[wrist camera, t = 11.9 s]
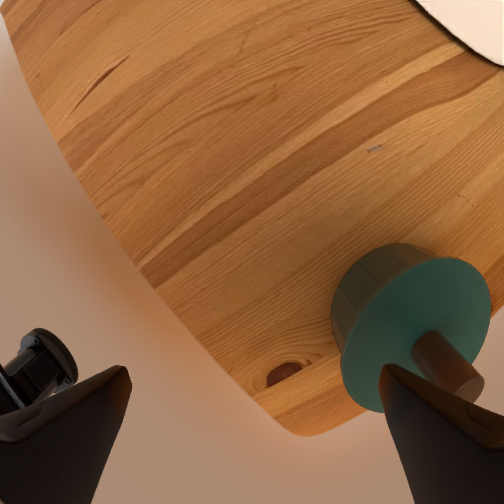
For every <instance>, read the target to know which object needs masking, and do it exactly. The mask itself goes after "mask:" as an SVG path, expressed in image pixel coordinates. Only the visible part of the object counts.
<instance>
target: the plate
mask: <svg viewBox="0 0 504 504" xmlns="http://www.w3.org/2000/svg"><path fill="white" fill-rule="evenodd" d="M415 1H416V2H417V3H418V4H419V5H420V6H421V7H422V8H423V9H424V10H425V11H426V12H427V13H428V14H429V15H430V16H431V17H433V18H434V19H435V20H436V21H437V22H439V23H440V24H441V25H442V26H443V27H444V28H445V29H447V30H448V31H449V32H450V33H451V34H452V35H453V36H455V37H456V38H458V39H459V40H460V41H462V42H463V43H464V44H466V45H467V46H468V47H469V48H471V49H472V50H473V51H474V52H476V53H478V54H480V55H481V56H483V57H485V58H486V59H488V60H490V61H491V62H493V63H495V64H498V65H501V66H504V0H415Z"/></svg>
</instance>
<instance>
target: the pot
mask: <svg viewBox="0 0 504 504" xmlns="http://www.w3.org/2000/svg"><path fill="white" fill-rule="evenodd" d="M436 256H437V255H435V254H433V253H431V252H429V251H427V250H425V249H422V248H419V247H416V246H414V245H410V244H406V243H405V244H404V243H403V244H402V243H397V244H389V245H385V246H382V247H379V248H377V249H375V250H373V251H371V252H369V253H367V254H366V255H365V256H363V257H362V258H360V259H359V260H358V261H357V262H356V263H355V264H354V265H353V266H352V267H351V268H350V269H349V270H348V272H347V273H346V274H345V276H344V277H343V279H342V280H341V282H340V284H339V286H338V288H337V290H336V293H335V295H334V299H333V303H332V309H331V322H332V328H333V335H334V337H335V340H336V342H337V345H338V347H339V350H340V352H341V353H342V348H343V344H344V341H345V338H346V335H347V332H348V330H349V328H350V326H351V323H352V321H353V320H354V318H355V316H356V315H357V313H358V311H359V310H360V309H361V307H362V306H363V304H364V303H365V302H366V300H367V299H368V298H369V297H370V296H371V295H372V294H373V292H374V291H375V290H376V289H377V288H378V287H379V286H380V285H382V284H383V283H384V282H385V281H386V280H387V279H388V278H390V277H391V276H392V275H394V274H395V273H396V272H398V271H400V270H401V269H403V268H405V267H406V266H408V265H410V264H412V263H415V262H417V261H419V260H423V259H426V258H429V257H436Z"/></svg>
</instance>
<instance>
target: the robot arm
mask: <svg viewBox="0 0 504 504" xmlns="http://www.w3.org/2000/svg"><path fill="white" fill-rule="evenodd" d="M71 384H72V380H71V378H70V377H69V376H68V375H67V374H66V372H65V371H64V370H63V369H62V367H61V366H60V365H59V364H58V362H57V361H56V360H55V358H54V357H53V356H52V354H51V353H50V352H49V350H48V349H47V348H46V346H45V345H44V343H43V342H42V341H41V339H40V338H39V337H38V336H37V335H35V336H34V337H32V338H31V339H30V340H29V341H28V342H27V343H26V344H25V345H24V346H23V347H22V348H21V349H20V350H19V351H18V355H17V356H16V357H15V358H14V359H13V360H12V361H10V362H9V363H8V364H7V365H5V366H4V367H2V366H1V364H0V504H91V502H92V499H93V497H94V494H95V491H96V488H97V486H98V482H99V480H100V477H101V475H102V472H103V469H104V467H105V464H106V462H107V459H108V457H109V454H110V452H111V449H112V446H113V444H114V441H115V439H116V437H117V434H118V432H119V429H120V427H121V424H122V422H123V418H124V415H125V411H126V408H127V404H128V401H129V398H130V394H131V390H132V383H131V380H130V377H129V374H128V370H127V369H126V367H124V366H119V365H115V366H113V367H111V368H109V369H107V370H105V371H103V372H101V373H99V374H97V375H95V376H93V377H90V378H89V379H87V380H84V381H82V382H80V383H78V384H76V385H74V386H72V387H70V388H68V389H65V390H63V391H61V392H59V393H57V394H55V395H53V396H51V395H52V394H53V393H55V392H57V391H59V390H61V389H64V388H66V387H68V386H70V385H71ZM378 389H379V393H380V397H381V401H382V405H383V409H384V413H385V416H386V420H387V424H388V427H389V429H390V432H391V435H392V437H393V440H394V443H395V445H396V448H397V451H398V454H399V457H400V460H401V463H402V465H403V468H404V471H405V474H406V477H407V480H408V483H409V487H410V489H411V493H412V495H413V499H414V502H415V504H504V416H502V415H499V414H497V413H494V412H491V411H489V410H486V409H484V408H482V407H479V406H477V405H475V404H473V403H471V402H469V401H467V400H466V401H465V399H463V398H461V397H459V396H457V395H455V394H453V393H451V392H449V391H447V390H445V389H443V388H441V387H439V386H437V385H435V384H433V383H431V382H430V381H428V380H426V379H424V378H422V377H420V376H418V375H416V374H414V373H412V372H410V371H408V370H407V369H405V368H403V367H401V366H399V365H397V364H395V363H390V364H385V365H383V367H382V370H381V374H380V378H379V382H378ZM50 396H51V397H50Z"/></svg>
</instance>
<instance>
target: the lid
mask: <svg viewBox="0 0 504 504" xmlns="http://www.w3.org/2000/svg"><path fill="white" fill-rule="evenodd" d="M490 316H491V300H490V294H489V289H488V287H487V284H486V282H485V280H484V278H483V276H482V275H481V273H480V272H479V271H478V270H477V269H476V268H475V267H474V266H472V265H471V264H469V263H468V262H466V261H463V260H461V259H459V258H455V257H451V256H436V257H429V258H426V259H423V260H419V261H417V262H415V263H412V264H410V265H408V266H406V267H405V268H403V269H401V270H400V271H398V272H396V273H395V274H394V275H392V276H391V277H390V278H388V279H387V280H386V281H385V282H384V283H383V284H382V285H380V286H379V287H378V288H377V289H376V290H375V291H374V292H373V294H372V295H371V296H370V297H369V298H368V299H367V300H366V302H365V303H364V304H363V306H362V307H361V309H360V310H359V311H358V313H357V315H356V316H355V318H354V320H353V321H352V323H351V326H350V328H349V330H348V332H347V335H346V338H345V341H344V344H343V348H342V353H341V364H340V367H341V375H342V379H343V382H344V385H345V388H346V390H347V392H348V394H349V395H350V396H351V398H352V399H353V400H354V401H355V402H356V403H358V404H359V405H360V406H362V407H364V408H365V409H368V410H371V411H374V412H379V413H384V409H383V405H382V401H381V397H380V393H379V389H378V382H379V378H380V374H381V370H382V367H383V365H385V364H390V363H395V364H397V365H399V366H401V367H403V368H405V369H407V370H408V371H410V372H412V373H414V374H416V375H418V376H420V377H422V378H424V379H426V380H428V381H430V382H431V383H433V384H435V385H437V386H439V387H441V388H443V389H445V390H447V391H449V392H451V393H453V394H455V395H457V396H459V397H461V398H463V399H465V401H466V400H467V401H469V402H471V403H474V402H475V401H476V400H477V398H478V397H479V396H480V394H481V392H482V390H483V388H484V378H483V377H482V376H481V375H480V374H479V373H478V372H477V370H476V369H474V367H473V366H472V363H473V362H474V360H475V359H476V357H477V355H478V353H479V352H480V349H481V347H482V345H483V343H484V340H485V337H486V335H487V331H488V327H489V323H490Z"/></svg>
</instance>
